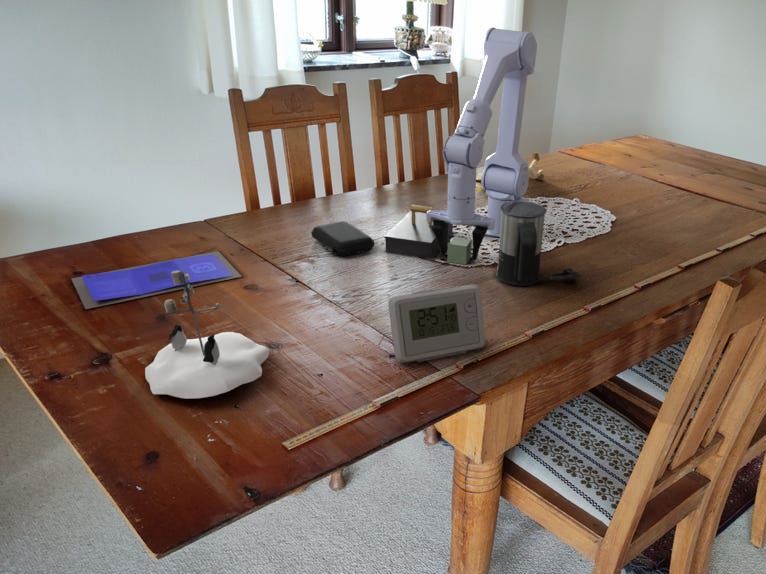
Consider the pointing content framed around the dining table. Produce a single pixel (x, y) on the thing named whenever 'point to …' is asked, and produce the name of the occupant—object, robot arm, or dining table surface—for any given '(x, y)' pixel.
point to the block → (459, 250)
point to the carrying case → (342, 238)
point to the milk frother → (524, 245)
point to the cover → (414, 227)
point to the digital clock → (436, 323)
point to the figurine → (203, 358)
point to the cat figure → (530, 172)
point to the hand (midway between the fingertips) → (459, 256)
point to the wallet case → (415, 247)
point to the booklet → (151, 279)
